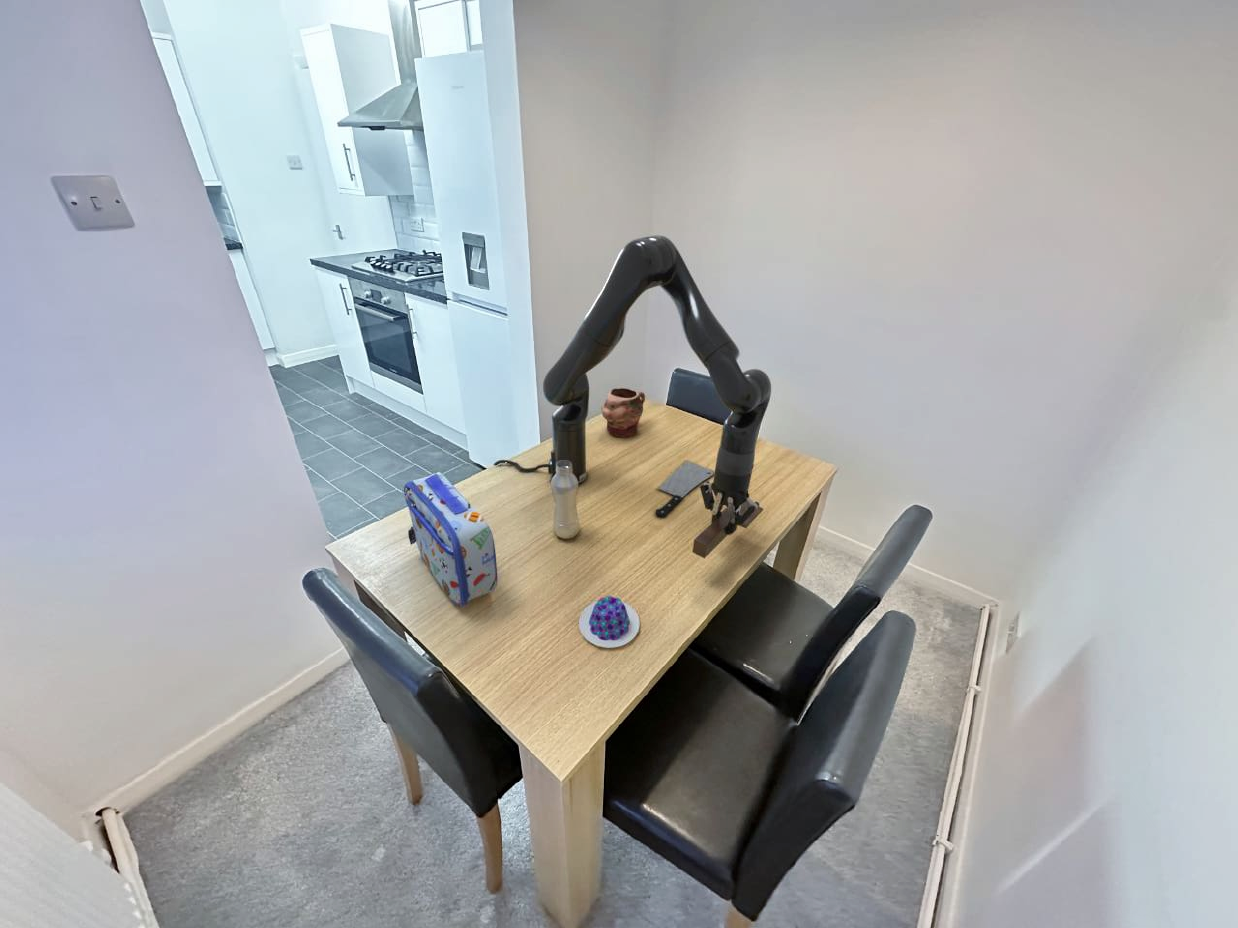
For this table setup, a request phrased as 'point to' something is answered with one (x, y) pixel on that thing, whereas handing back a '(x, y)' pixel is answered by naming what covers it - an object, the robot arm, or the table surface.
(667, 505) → the cleaver
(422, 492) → the lunch box
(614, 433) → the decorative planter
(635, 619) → the pudding
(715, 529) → the spatula
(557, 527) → the plastic bottle
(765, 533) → the table surface
